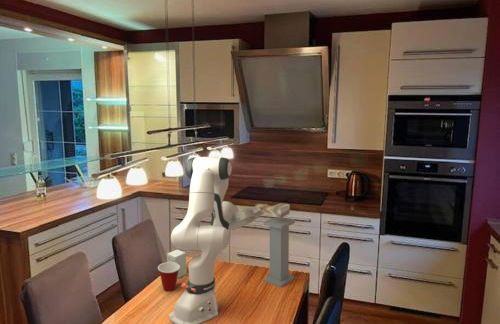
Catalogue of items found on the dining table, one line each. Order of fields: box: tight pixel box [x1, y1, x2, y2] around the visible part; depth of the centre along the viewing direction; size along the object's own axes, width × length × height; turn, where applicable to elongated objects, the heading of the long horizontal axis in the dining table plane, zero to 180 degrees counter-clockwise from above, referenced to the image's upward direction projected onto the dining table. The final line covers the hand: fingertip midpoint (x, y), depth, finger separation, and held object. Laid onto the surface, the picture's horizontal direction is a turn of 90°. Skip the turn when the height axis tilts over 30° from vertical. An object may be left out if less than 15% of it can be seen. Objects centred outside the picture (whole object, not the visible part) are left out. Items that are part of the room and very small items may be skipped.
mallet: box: [254, 202, 291, 218], centre depth 189 cm, size 18×8×5 cm, turn 50°
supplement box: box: [166, 249, 188, 280], centre depth 197 cm, size 7×7×13 cm
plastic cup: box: [157, 262, 180, 292], centre depth 182 cm, size 11×11×12 cm
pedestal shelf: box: [263, 216, 296, 288], centre depth 189 cm, size 12×11×32 cm
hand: (263, 207), depth 192 cm, fingers closed on mallet, 3 cm apart
